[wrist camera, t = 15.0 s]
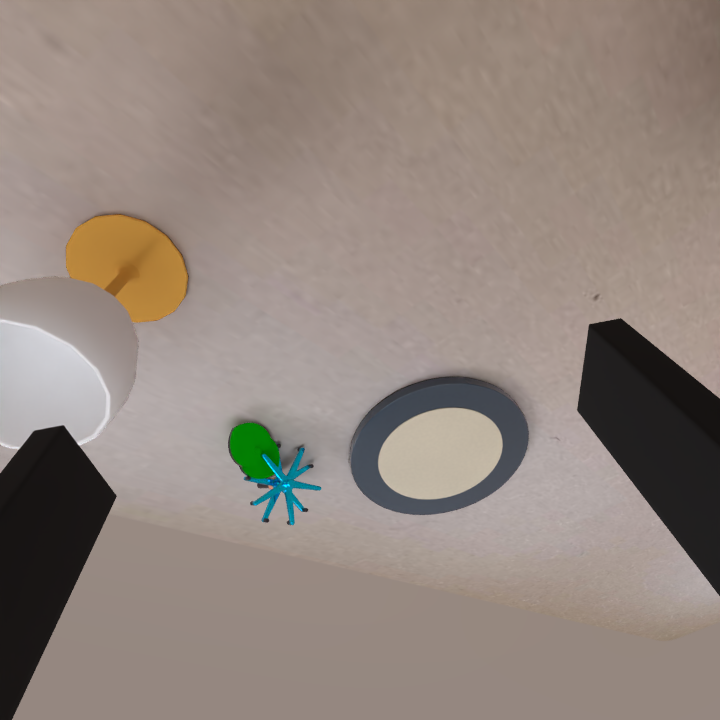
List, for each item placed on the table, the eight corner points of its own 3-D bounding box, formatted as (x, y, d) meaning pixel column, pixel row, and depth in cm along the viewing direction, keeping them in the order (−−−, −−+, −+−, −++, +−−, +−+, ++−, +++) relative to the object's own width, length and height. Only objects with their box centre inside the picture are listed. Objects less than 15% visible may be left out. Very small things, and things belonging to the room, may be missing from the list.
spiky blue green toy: (337, 482, 48) (292, 543, 43) (303, 484, 53) (260, 538, 48) (266, 399, 45) (210, 454, 40) (238, 409, 50) (185, 459, 45)
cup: (108, 333, 38) (1, 475, 24) (39, 233, 33) (-143, 342, 19) (207, 304, 37) (153, 432, 24) (152, 198, 32) (45, 284, 19)
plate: (530, 361, 44) (536, 368, 43) (519, 491, 55) (523, 499, 54) (335, 395, 44) (336, 403, 43) (362, 519, 55) (364, 528, 54)
